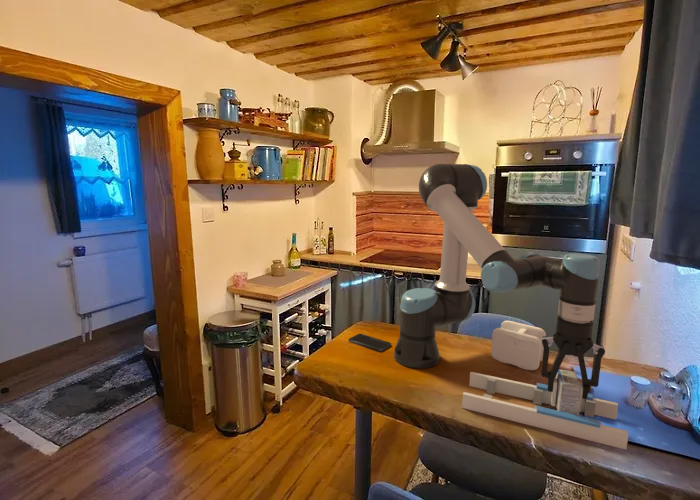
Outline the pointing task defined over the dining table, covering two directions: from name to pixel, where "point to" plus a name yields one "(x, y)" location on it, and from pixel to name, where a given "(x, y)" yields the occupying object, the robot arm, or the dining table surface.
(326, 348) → the dining table surface
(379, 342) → the phone
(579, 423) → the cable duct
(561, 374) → the medicine box
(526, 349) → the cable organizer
